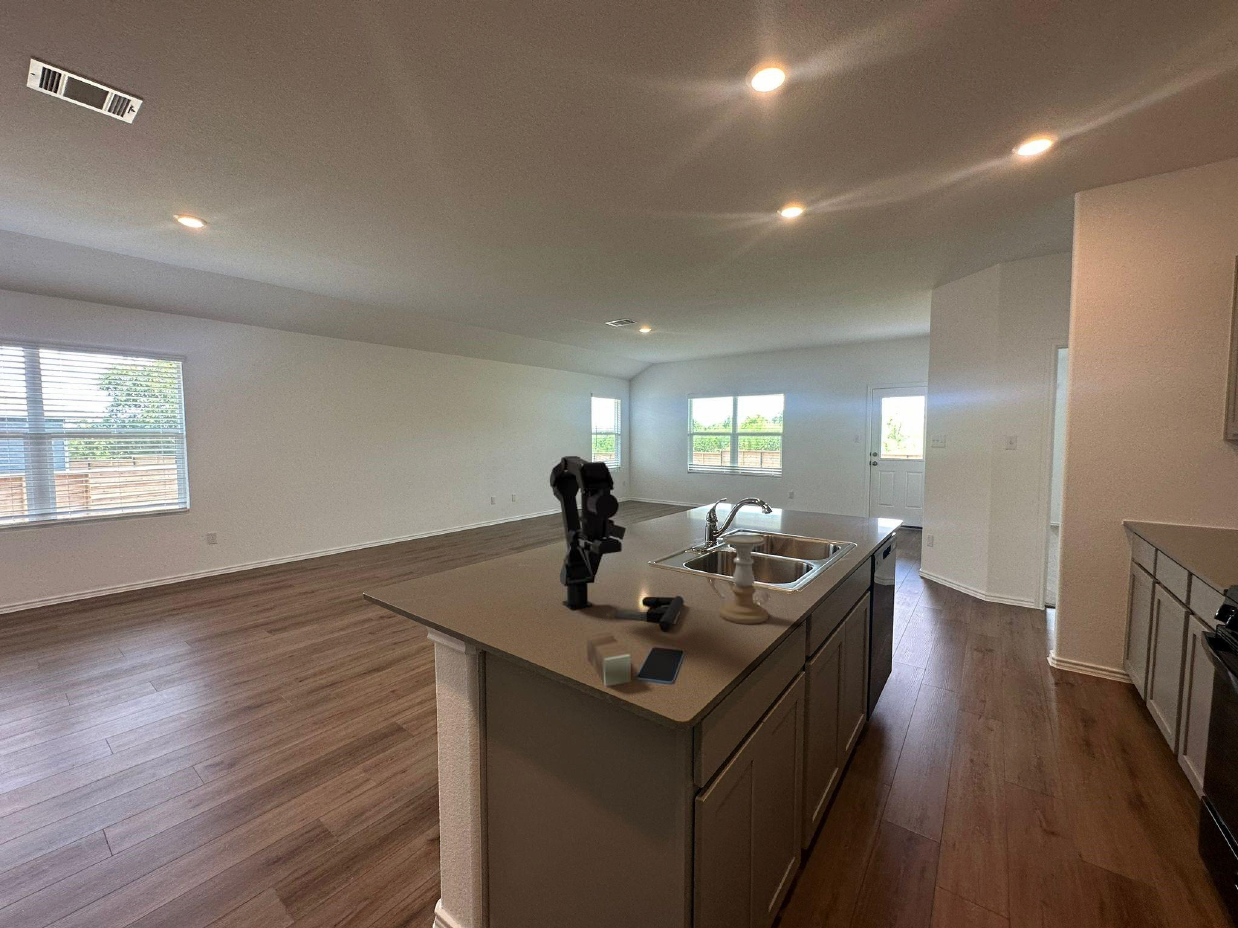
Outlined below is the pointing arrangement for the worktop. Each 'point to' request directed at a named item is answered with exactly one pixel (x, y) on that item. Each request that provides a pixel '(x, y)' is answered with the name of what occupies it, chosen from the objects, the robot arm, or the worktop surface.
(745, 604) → the candle holder
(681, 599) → the door handle
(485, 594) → the worktop surface
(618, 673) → the beige wooden block
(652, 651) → the smartphone
